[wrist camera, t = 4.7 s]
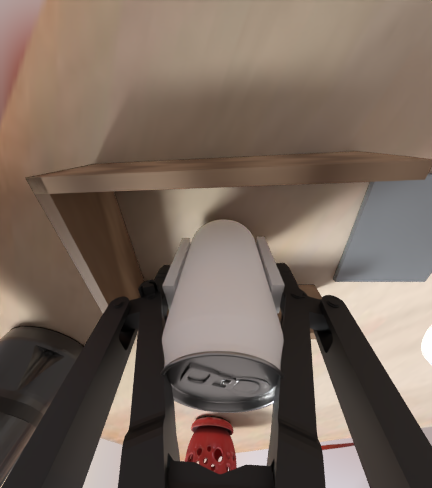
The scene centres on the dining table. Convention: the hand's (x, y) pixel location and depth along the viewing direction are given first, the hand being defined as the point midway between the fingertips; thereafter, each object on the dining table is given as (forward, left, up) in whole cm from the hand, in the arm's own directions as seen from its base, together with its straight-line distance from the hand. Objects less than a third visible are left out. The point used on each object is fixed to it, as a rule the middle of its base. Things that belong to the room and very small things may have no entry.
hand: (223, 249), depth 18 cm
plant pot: (-5, -60, -2) cm, 60 cm away
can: (0, 0, -1) cm, 1 cm away
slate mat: (+18, 0, -2) cm, 18 cm away
